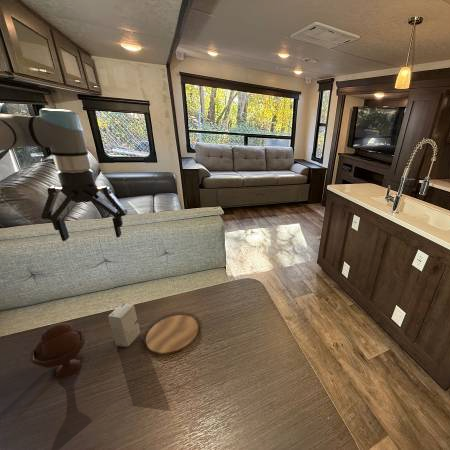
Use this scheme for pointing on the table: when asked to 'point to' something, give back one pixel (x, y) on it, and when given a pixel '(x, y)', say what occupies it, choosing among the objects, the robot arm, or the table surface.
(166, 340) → the wooden trivet
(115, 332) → the cosmetic box
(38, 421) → the table surface
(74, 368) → the ice cream bowl
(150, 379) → the table surface
